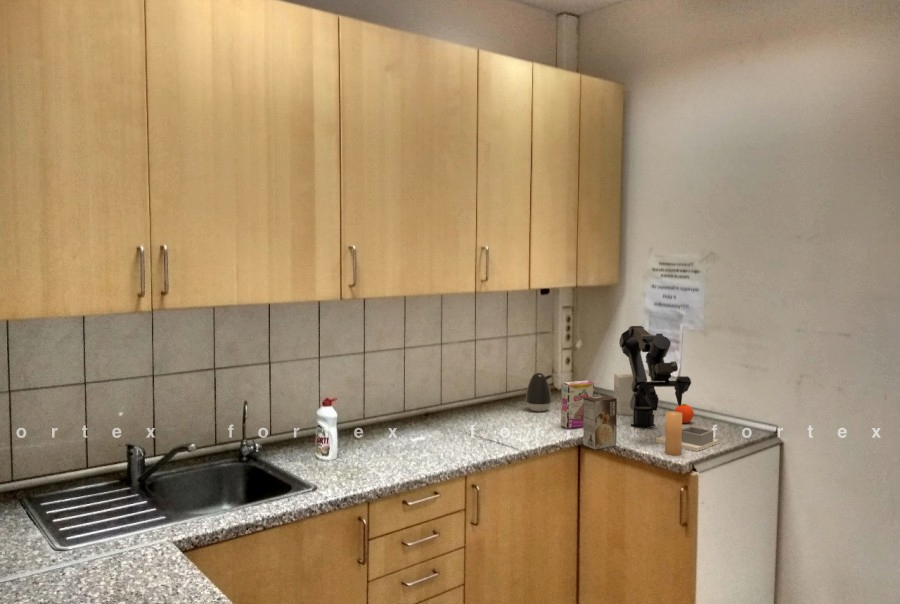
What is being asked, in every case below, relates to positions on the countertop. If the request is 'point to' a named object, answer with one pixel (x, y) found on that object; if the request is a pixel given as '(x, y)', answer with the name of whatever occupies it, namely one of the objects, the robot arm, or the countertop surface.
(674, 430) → the orange rounded part
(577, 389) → the candy bar box
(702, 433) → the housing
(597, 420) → the coffee box
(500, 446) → the countertop surface
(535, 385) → the pump dispenser
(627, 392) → the supplement box
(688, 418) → the clementine
